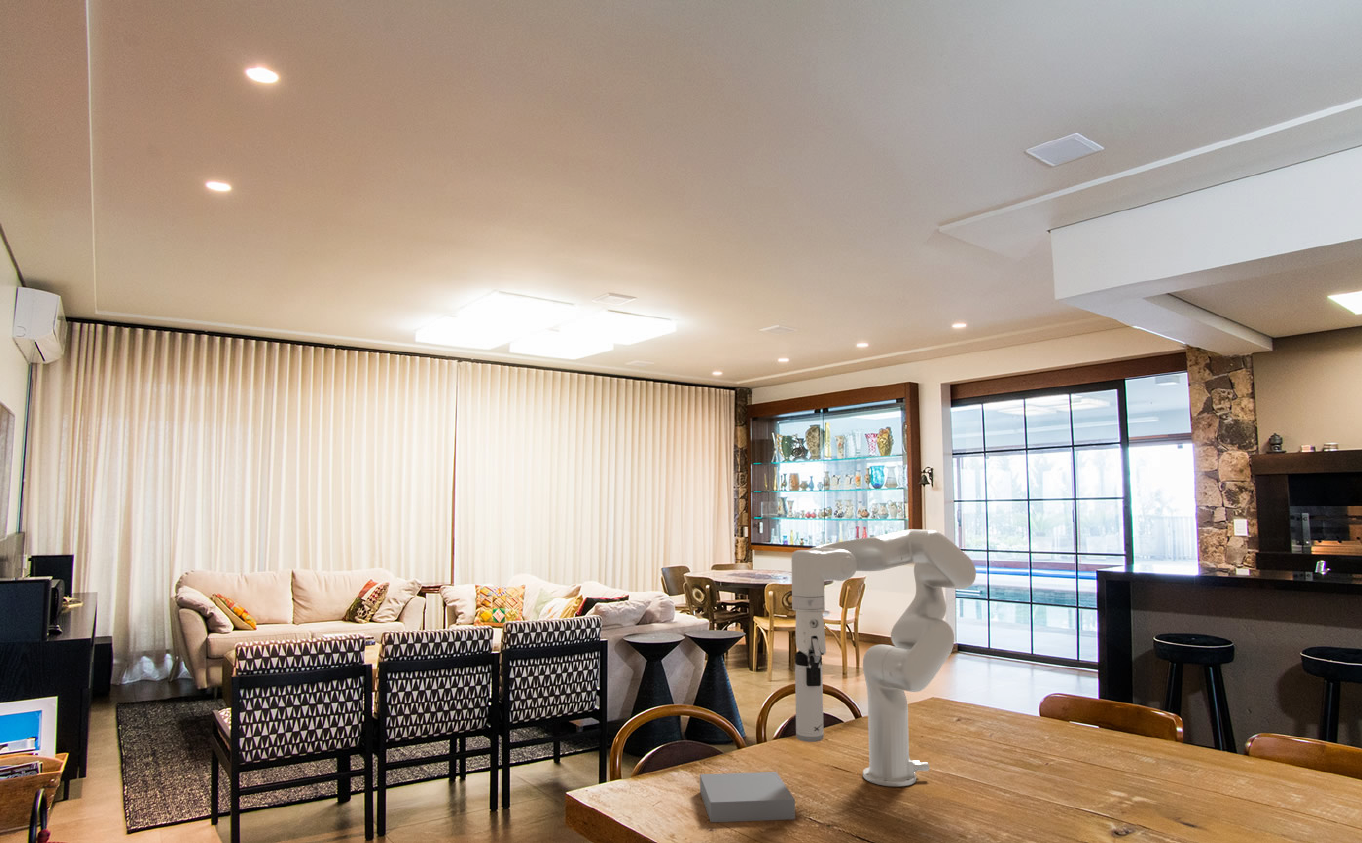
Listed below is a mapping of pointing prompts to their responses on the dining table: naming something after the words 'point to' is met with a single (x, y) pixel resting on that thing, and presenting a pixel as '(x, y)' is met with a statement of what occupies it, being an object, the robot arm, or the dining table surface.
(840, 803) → the dining table surface
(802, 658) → the travel mug
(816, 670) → the robot arm
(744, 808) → the plinth
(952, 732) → the dining table surface
